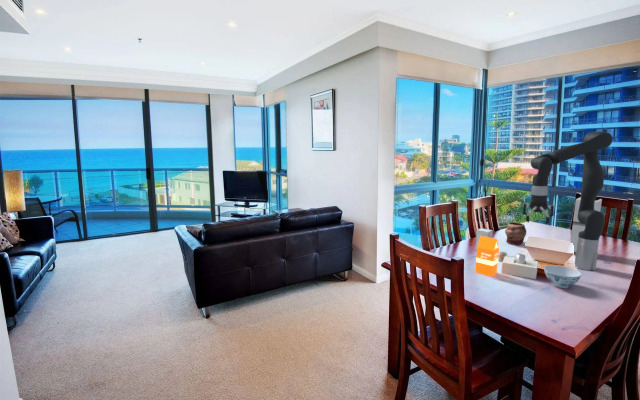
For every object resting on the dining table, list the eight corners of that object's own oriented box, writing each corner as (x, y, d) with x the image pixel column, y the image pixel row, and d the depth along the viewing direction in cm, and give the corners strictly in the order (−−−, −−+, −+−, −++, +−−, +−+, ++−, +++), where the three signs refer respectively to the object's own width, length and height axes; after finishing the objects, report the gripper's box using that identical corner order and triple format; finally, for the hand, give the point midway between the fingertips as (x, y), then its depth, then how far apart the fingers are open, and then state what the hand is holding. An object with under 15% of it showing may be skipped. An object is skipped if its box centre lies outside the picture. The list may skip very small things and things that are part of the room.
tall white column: (589, 258, 208) (597, 201, 202) (569, 253, 216) (575, 199, 209) (594, 254, 215) (602, 199, 209) (573, 250, 223) (580, 197, 217)
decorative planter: (511, 238, 250) (512, 219, 248) (529, 241, 241) (531, 222, 239) (500, 243, 237) (501, 224, 235) (519, 247, 228) (521, 227, 226)
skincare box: (492, 253, 219) (494, 230, 216) (487, 254, 216) (488, 231, 213) (480, 249, 226) (481, 227, 223) (474, 251, 223) (476, 229, 220)
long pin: (523, 271, 188) (525, 254, 186) (523, 274, 185) (525, 256, 183) (515, 270, 190) (517, 253, 188) (514, 272, 187) (516, 255, 185)
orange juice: (480, 268, 193) (483, 234, 190) (497, 272, 187) (500, 237, 184) (475, 272, 188) (477, 237, 184) (491, 276, 182) (495, 240, 178)
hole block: (536, 271, 188) (538, 261, 187) (535, 279, 178) (537, 268, 177) (504, 266, 197) (504, 256, 196) (501, 272, 187) (502, 262, 186)
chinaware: (580, 294, 160) (582, 279, 159) (542, 287, 168) (544, 272, 167) (577, 283, 173) (579, 268, 172) (542, 277, 181) (544, 263, 179)
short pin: (506, 260, 206) (507, 252, 205) (505, 262, 202) (506, 254, 201) (498, 259, 208) (499, 251, 207) (498, 261, 205) (498, 253, 204)
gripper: (555, 193, 184) (552, 222, 187) (524, 192, 192) (522, 220, 195) (555, 195, 178) (553, 225, 181) (523, 194, 186) (521, 223, 189)
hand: (537, 222), depth 188 cm, fingers open, 8 cm apart
